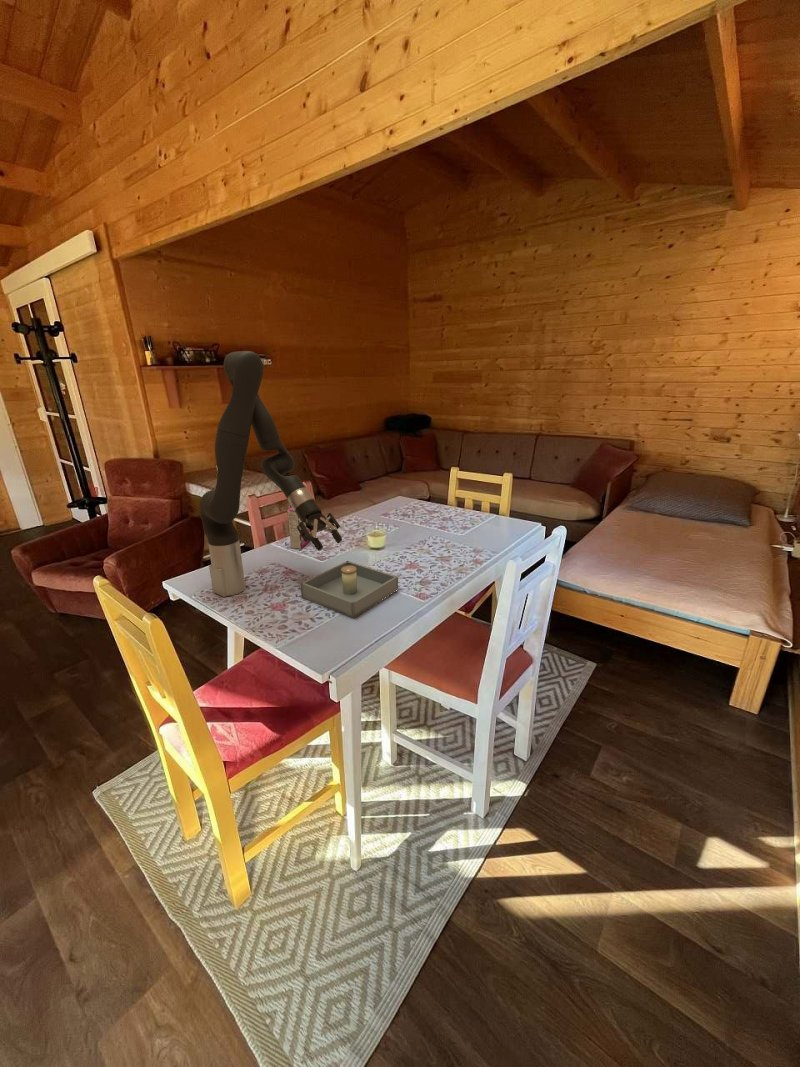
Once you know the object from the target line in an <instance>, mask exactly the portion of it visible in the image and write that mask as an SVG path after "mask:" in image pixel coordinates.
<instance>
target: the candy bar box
mask: <svg viewBox="0 0 800 1067" xmlns="http://www.w3.org/2000/svg"><path fill="white" fill-rule="evenodd" d="M287 522H288V530H289V541H290V548H291V549H294V550H295V549H296V550H302V549H304V548H305V547H306V546H307V545H308V544H309V543H310V542H311V541H307V542H305V541H304V539H303V538H302V536H301V534H300V532H299V531H298V529H297V526H298V524H299V523H300V522H301V520H300V519H299V517H298V516H297V514H296V513H295V511H294V510H293V508H292V507H290V508H288V510H287ZM306 529H307V530H308V532H309V529H308V528H306Z"/></svg>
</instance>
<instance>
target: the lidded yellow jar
mask: <svg viewBox="0 0 800 1067" xmlns="http://www.w3.org/2000/svg"><path fill="white" fill-rule="evenodd" d="M341 572H342V584H343V593H344V594H349V595H350V594H355V593H356V592H357V577H356V567H355V566H350V565H349V566H344V567H342V568H341Z"/></svg>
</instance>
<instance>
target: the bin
mask: <svg viewBox="0 0 800 1067" xmlns="http://www.w3.org/2000/svg"><path fill="white" fill-rule="evenodd" d="M349 565H350V566H355V567H356V577H357V592H356V593H355V594H350V595H349V594H344V593H343V584H342V572H341V568H342V567H344V566H349ZM397 589H398V590H399V577H398V575H397V576H396V575H394V574H390V573H388V572H384V571H381V570H378V569H375V568H372V567H367V566H366V565H362V564H360V563H356V562H353V561H349V560H346V561H345V562H342V563H340V564H338V565H336V566H333V567H331V568H330V569H327V570H326V571H323V572H321V573H319V574H317V575H315V576H313V577H311V578H309V579H306V580H305V581H303V582H301V583H300V593H301V598H302V599H305V600H307V601H309V602H312V603H315V604H317V605H319V606H321V607H324V608H326V609H329V610H331V611H334V612H336V613H339V614H341V615H343V616H344V615H345V616H346V617H349V618H351V619H355V618H357V617H359V616H360V615H362V614H364V613H365V612H366V610H367V611H368V610H370V609H371V608H373V607H374V606H376V605H377V604H376V603H378V602H379V601H381V600H382V599H384V598H385V597H387V596H388V595H390V594H391V593H393V592H394V591H396V590H397ZM396 592H397V591H396ZM393 594H394V593H393ZM390 596H391V595H390ZM387 598H388V597H387ZM385 599H386V598H385ZM385 599H384V600H385ZM382 601H383V600H382ZM382 601H381V602H382ZM379 603H380V602H379ZM379 603H378V604H379ZM375 604H376V605H375ZM372 606H373V607H372ZM369 608H370V609H369Z"/></svg>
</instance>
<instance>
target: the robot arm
mask: <svg viewBox="0 0 800 1067" xmlns="http://www.w3.org/2000/svg"><path fill="white" fill-rule="evenodd" d="M223 360H224V361H223V369H224V370H223V371H224V373H225V375H226V377H227V380H228V381H229V382H230V384H231V386H232V389H231V390H232V391H231V395H230V399H229V401H228V404H227V405H226V407H225V409H224V411H223V413H222V415H221V417H220V419H219V421H218V424H217V429H216V432H215V433H216V434H215V435H216V436H215V441H214V457H215V463H216V468H217V469H216V470H217V472H216V473H217V476H216V485H215V489H211V490H208V491H206V492H205V493H204V494H203V495H202V496H201V498H200V500H199V501H200V502H199V511H200V512H199V513H200V517H201V522H202V528H203V531H204V534H205V535H206V539H207V542H208V543H207V544H208V550H209V551H208V552H209V557H210V563H211V564H210V565H208V569H209V574H210V575H209V576H210V582H211V587H212V592H213V593H214V594H216V595H218V596H221V597H222V598H225V597H228V596H235V595H237V594H240V593H242V592H244V591H245V590H246V580H245V573H244V564H243V560H242V551H241V544H240V543H241V542H240V537H239V536H240V535H239V531H238V529H237V527H236V526H235V524H234V522H233V521H234V520H235V519H236V517H238V514H239V510H240V503H241V502H240V501H241V489H242V488H241V487H242V477H243V473H244V467H245V462H246V456H247V451H248V447H249V441H250V434H251V428H252V430H253V432H254V435H255V439H256V440H257V444H258V446H259V448H260V449H261V450H262V451H264V452H266V451H267V452H268V451H276V452H277V453H276V454H273V455H271V456H269V457H266V458H264V459H263V460H262V461H261V464H260V466H261V470H262V472H263V474H264V476H266V477H267V478H268V479H269V480H270V481H271V482H272V483H274V484H275V485H276V486H277V487H278V488H279V489H280V490H281V492H282V493H283V494H284V496H285V497H286V499H287V501H288V503H289V504H290V508H293V510H294V511H295V513H296V514H297V516H298V517H299V519H300V520H301V522H300V523H299V524H298V526H297V529H298V531H299V532H300V534H301V536H302V538H303V539H304V541H305V542H307V541H310V542H311V543H312V546H314V548H315V549H316V550H318V551H322V550H323V549H324V545H323V544H322V542H321V541H320V539H319V538H318V537H317V533H319V532H322V531H324V532H328V533H329V534H331V536H332V537H333V539H334V540H335V542H336V543H337V544H340V543H342V541H343V538H342V536H341V534H340V533H339V531H338V529H340V527H341V525H340V524H339V522H338V521H337V520H336V518H335V517H334V515H333V514H332V513H331V512H329V513H327V514H326V515H324V514H323V513H322V509H321V506H319V504H318V503H317V501H316V500H315V498H314V496H313V495H312V494H311V492H310V490H308V488H307V487H306V486H305V485H304V482H302V480H301V478H300V477H299V476H298V475H295V474H292V475H286V474H288V473H290V472H292V471H293V470H294V468H295V461H294V458H293V457H292V455H291V454H290V453H289V451H288V449H287V448H286V446H285V445H284V442H282V439H281V437H280V434H279V432H278V429H277V425H276V423H275V421H274V418H273V417H272V414H271V413H270V411H269V410H268V409H267V407H266V406H265V404H264V402H263V401H262V399H261V397H260V395H259V390H260V388H261V384H262V380H263V376H264V369H265V368H264V363H263V360H262V359H261V357H260V356H259V354H257V353H255V352H254V351H251V350H241V351H239V350H238V351H232V352H229V353H228V354H227V355H226V356H225V358H224V359H223ZM306 528H308V529H309V532H308V530H307V529H306Z"/></svg>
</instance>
